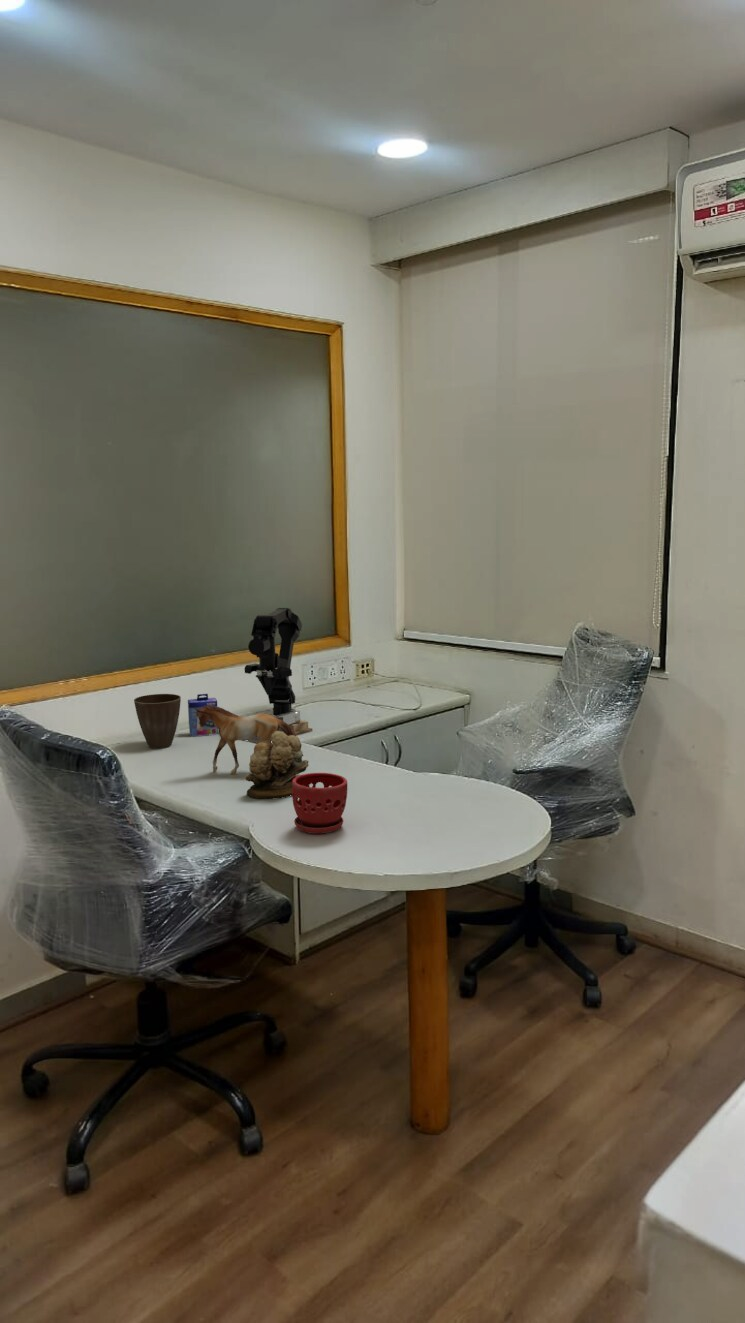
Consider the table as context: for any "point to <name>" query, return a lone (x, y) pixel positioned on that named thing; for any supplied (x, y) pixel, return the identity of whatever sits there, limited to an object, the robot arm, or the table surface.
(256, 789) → the beige lumpy carved figure
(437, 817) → the table surface
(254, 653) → the robot arm
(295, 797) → the plant pot
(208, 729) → the ink cartridge box
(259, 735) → the horse figurine
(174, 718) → the plant pot
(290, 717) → the lock bar
